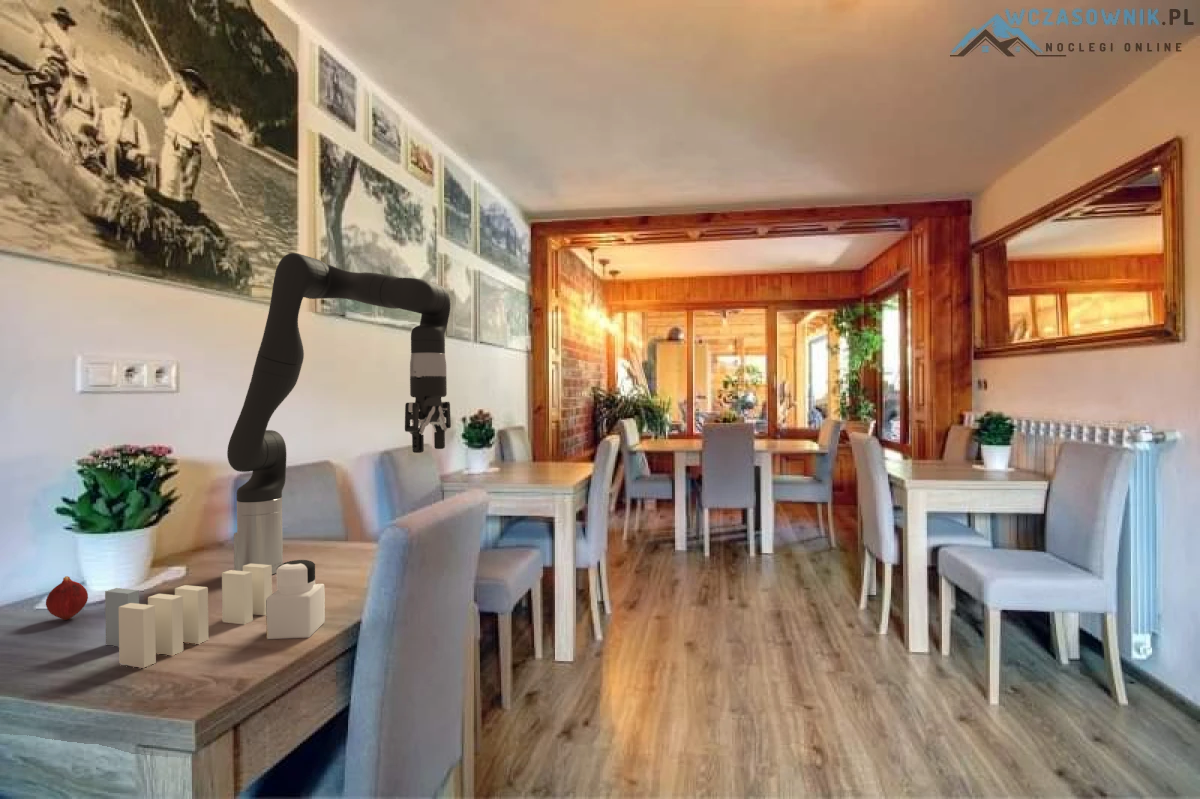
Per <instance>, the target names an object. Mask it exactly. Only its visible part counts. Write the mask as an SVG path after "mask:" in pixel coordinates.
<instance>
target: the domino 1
mask: <svg viewBox="0 0 1200 799" xmlns="http://www.w3.org/2000/svg"><path fill="white" fill-rule="evenodd" d="M104 592H105V593H104V597H105V598H104V602H105V604H104V606H105V607H104V611H105V613H104V614H105V645H106V644H107V645H114V646H119V607H120V606H123V605H126V604H129V603H137V604H140V589H130V588H122V587H121V588H120V587H115V588H111V589H108V590H105V591H104ZM114 646H113V647H114Z"/></svg>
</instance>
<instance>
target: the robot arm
mask: <svg viewBox="0 0 1200 799" xmlns="http://www.w3.org/2000/svg"><path fill="white" fill-rule="evenodd" d="M271 291H272V292H271V297H270V303H269V309H268V314H267V318H266V324H265V327H264V330H263V335H262V338H261V341H260V342H261V343H260V346H259V348H258V351H257V355H256V359H255V363H254V366H253V371H252V375H251V380H250V382H249V386H248V389H247V393H246V396H245V398H244V402H243V406H242V408H241V411H240V412H239V415H238V418H237V421H236V423H235V426H234V429H233V431H232V434H231V436H230V438H229V442H228V445H227V452H226V454H227V461H228V464H229V465H230V467H231V468H232V469H233V470H235V471H237V472H241V473H246V472H247V473H248V472H252V473H251V477H250V478H249V479H248V480H247V481H246V482H245V483H244V484H243V485H241V486H240V487H238V488H237V490H236V532H234V533H233V570H236V571H243V566H244V565H247V564H250V563H251V564H264V565H272V575H275V574H276V569H277V568H278V566H280V565H281V564H283V563H284V560H283V559H284V557H283V552H284V551H283V545H284V544H283V543H284V542H283V541H284V540H283V490H284V487H285V484H286V474H287V447H286V443H285V442H286V441H285V440H284V437H283V436H282V434H280V433H279V432H278V431H276V430H273V429H268V430H267V427H268V424H269V422H270V420H271V418H272V416H273V415H274V413H275V412H276V410H277V409H278V408H279V406H281V404H282V403H283V402H284V401H285V399H286V398H287V397H288V396H289V395H290V393H291V392H292V391H293V389H294V388H295V387H296V385H297V384H298V379H299V376H300V373H301V369H302V367H303V362H304V359H305V358H304V357H305V352H304V346H303V340H302V337H301V333H300V328H299V315H300V314H299V313H300V311H301V310H300V309H301V305H302V301H303V299H304V298H306V299H311V300H313V299H315V300H317V299H319V300H320V299H344V300H352V301H356V302H359V303H362V304H363V303H364V304H367V305H372V306H375V307H376V306H377V307H382V308H387V309H399V310H404V311H408V312H413V313H417V314H421V315H420V322H419V325H417V326H415V327H413V328H412V330H411V332H410V351H411V352H410V353H411V354H410V361H409V388H410V389H409V392H410V393H409V395H410V397H411V398H415V400H414V402H405V405H404V406H405V407H404V432H406V433H410V434H411V444H412V452H413V453H415V454H416V453H417V454H419V453H423V452H424V451H425V450H424V447H425V445H424V444H425V442H424V440H425V439H424V438H425V437H424V432H425V429H426V427H427V426H429V424H430V425H431V426H432V428H433V430H434V437H433V438H434V441H433V443H434V445H433V446H434V449H435V450H443V449H445V448H446V432H447V430H448V429H451V426H452V425H451V422H452V420H451V419H452V418H451V403H450V401H442V398H445V397H447V395H448V394H447V390H448V388H447V385H448V384H447V381H448V380H447V361H446V348H445V347H446V338H445V337H446V336H445V335H446V334H445V333H446V330H447V328H448V323H449V322H448V321H449V319H450V313H451V298H450V295H449V292H448V291H447V289H446V288H445V287H444V286H442V285H440V284H437V283H434V282H431V281H429V280H425V279H421V278H415V277H399V276H395V275H390V274H383V273H377V272H368V271H367V272H353V271H348V270H345V269H341V268H338V267H336V266H334V265H330V264H327V263H325V262H323V261H322V260H320V259H318V258H315V257H311V256H308V255H304V254H300V253H296V252H291V253H288V254H286V255H284V256H283V257H282V258H280V260H279V262H278V265H277V267H276V269H275V273H274V278H273V285H272V290H271ZM411 423H412V425H411Z"/></svg>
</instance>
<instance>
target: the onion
mask: <svg viewBox="0 0 1200 799" xmlns="http://www.w3.org/2000/svg"><path fill="white" fill-rule="evenodd" d="M45 599H46V600H45V606H46V609H47V612H48V613H50V614H51V615H52V616H54V617H57V618H59V619H61V620H64V621H68V620H70V619H72V618H73V617H74V616H76V615H77V614H78V613H79V612H80V611H81V610H83V608H84V607H85V606H86V604H87V603H88V599H89V593H88V590H87V589H86V588H85V586H84V585H83V584H81V583H79V582H77V581H74V580H72V579H71V577H70V576H67V575H66V576H64V577H63V578H62V581H61V582H60V583H59V584H57V585H56V586H54V588H52V589H51V591H50V592H49V593H48V595H47V597H46V598H45Z"/></svg>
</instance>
